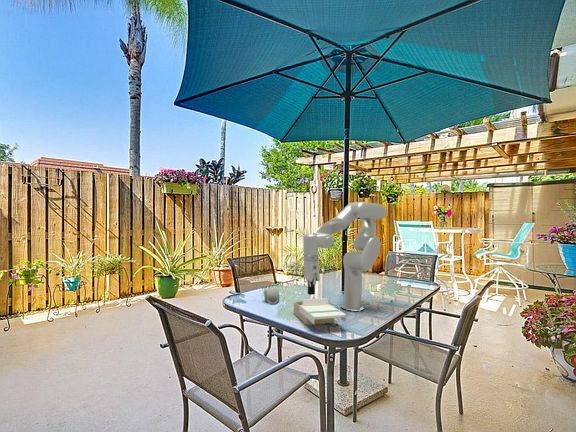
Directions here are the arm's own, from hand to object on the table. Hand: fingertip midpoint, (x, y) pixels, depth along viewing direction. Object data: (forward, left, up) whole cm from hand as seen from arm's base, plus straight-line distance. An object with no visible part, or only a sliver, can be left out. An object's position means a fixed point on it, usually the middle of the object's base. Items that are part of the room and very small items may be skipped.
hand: (311, 294), depth 156 cm
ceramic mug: (+13, -27, -11) cm, 32 cm away
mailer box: (+1, +6, -11) cm, 12 cm away
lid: (+1, +16, -6) cm, 17 cm away
